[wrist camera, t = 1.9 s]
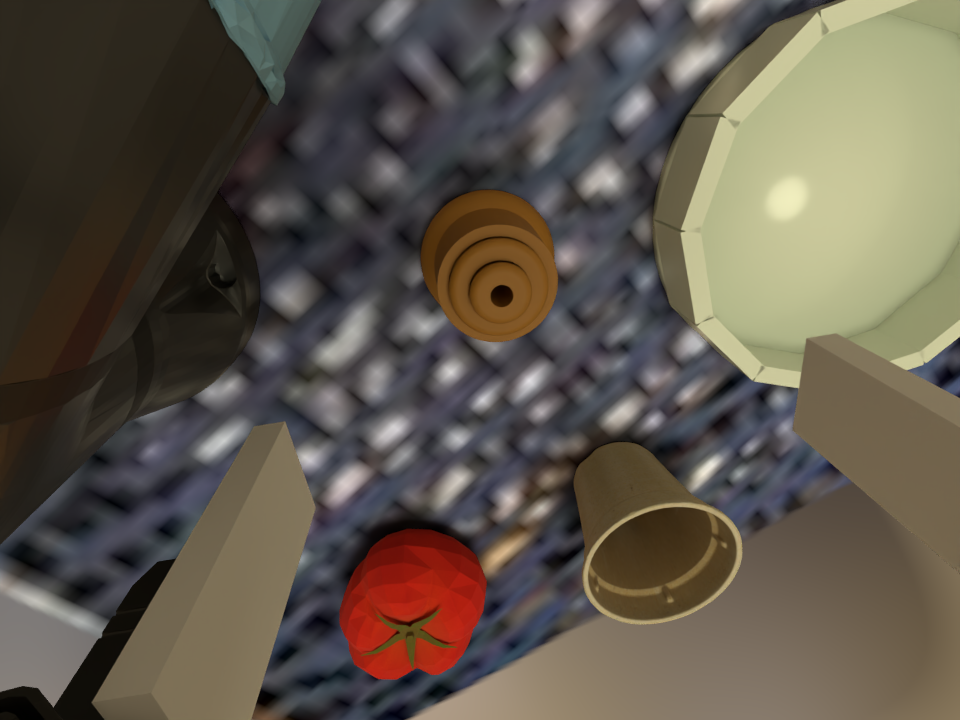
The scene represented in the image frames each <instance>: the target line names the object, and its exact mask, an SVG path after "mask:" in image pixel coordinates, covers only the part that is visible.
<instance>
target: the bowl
mask: <svg viewBox="0 0 960 720" xmlns="http://www.w3.org/2000/svg"><path fill="white" fill-rule="evenodd" d="M653 247H654V255H655V261H656V265H657V269H658V273H659V276H660V280H661V282H662V284H663V287H664V289H665V291H666V294H667V296H668V300H669V304H670V305H671V307H672V308H673V309H674V310H675V311H676V312H677V313H678V314H679V315H680V316H681V317H682V318H683V319H684V320H685V321H686V322H687V323H688V325H689V326H690V327H692V328H693V329H694V330H695V331H697V332H698V333H699V334H700V335H701V336H702V337H703V338H704V339H705V340H706V341H707V342H708V343H709V344H710V345H711V346H712V347H713V348H714V349H715V350H716V351H717V352H718V353H719V354H721V355H722V356H723V357H724V358H725V359H726V360H728V361H729V362H730V363H731V364H733V365H734V366H735V367H736V368H738V369H739V370H740V371H741V372H742V373H744V374H745V375H746V376H747V377H749V378H750V379H751V380H753V381H756V382H762V383H769V384H775V385H782V386H788V387H795V388H799V384H800V377H801V371H802V364H803V357H804V351H805V344H806V338H810V337H817V336H823V335H829V334H835V333H837V334H838V335H840V336H842V337H844V338H846V339H848V340H850V341H852V342H854V343H856V344H857V345H859V346H861V347H863V348H865V349H867V350H869V351H871V352H873V353H875V354H876V355H878V356H880V357H882V358H884V359H886V360H888V361H890V362H892V363H894V364H895V365H897V366H899V367H901V368H903V369H905V370H908V369H911V368H915V367H918V366H921V365H923V362H924V363H927V362H928V361H929V360H931V359H932V358H933V357H934V356H936V355H937V354H938V353H940V352H941V351H942V350H943V349H945V348H946V347H947V346H948V345H950V344H951V343H952V342H953V341H955V340H956V339H957V338H958V337H960V0H836V1H833V2H830V3H828V4H825V5H822V6H818V7H815V8H812V9H809V10H807V11H805V12H803V13H801V14H798V15H796V16H793V17H790V18H788V19H785V20H782V21H780V22H777V23H774V24H772V26H769V27H768V28H767V29H766V30H765V32H764V33H763V34H762V35H761V36H760V37H758V38H757V39H756V40H754V41H753V42H752V43H751V44H749V45H748V46H747V47H746V48H744V49H743V50H742V51H740V52H739V53H738V54H737V55H736V56H735V57H734V58H733V59H732V60H731V61H730V62H729V63H728V64H727V65H726V66H725V67H724V68H723V69H722V70H721V71H720V72H719V73H718V74H717V75H716V76H715V77H714V79H713V80H712V81H711V82H710V84H709V85H708V86H707V87H706V88H705V90H704V91H703V92H702V93H701V95H700V96H699V97H698V99H697V100H696V102H695V103H694V105H693V106H692V108H691V110H690V111H689V113H688V114H687V116H686V117H685V119H684V121H683V122H682V124H681V126H680V128H679V130H678V132H677V134H676V136H675V138H674V140H673V142H672V144H671V147H670V149H669V152H668V154H667V157H666V160H665V162H664V165H663V168H662V171H661V175H660V179H659V183H658V187H657V190H656V196H655V203H654V211H653Z"/></svg>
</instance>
